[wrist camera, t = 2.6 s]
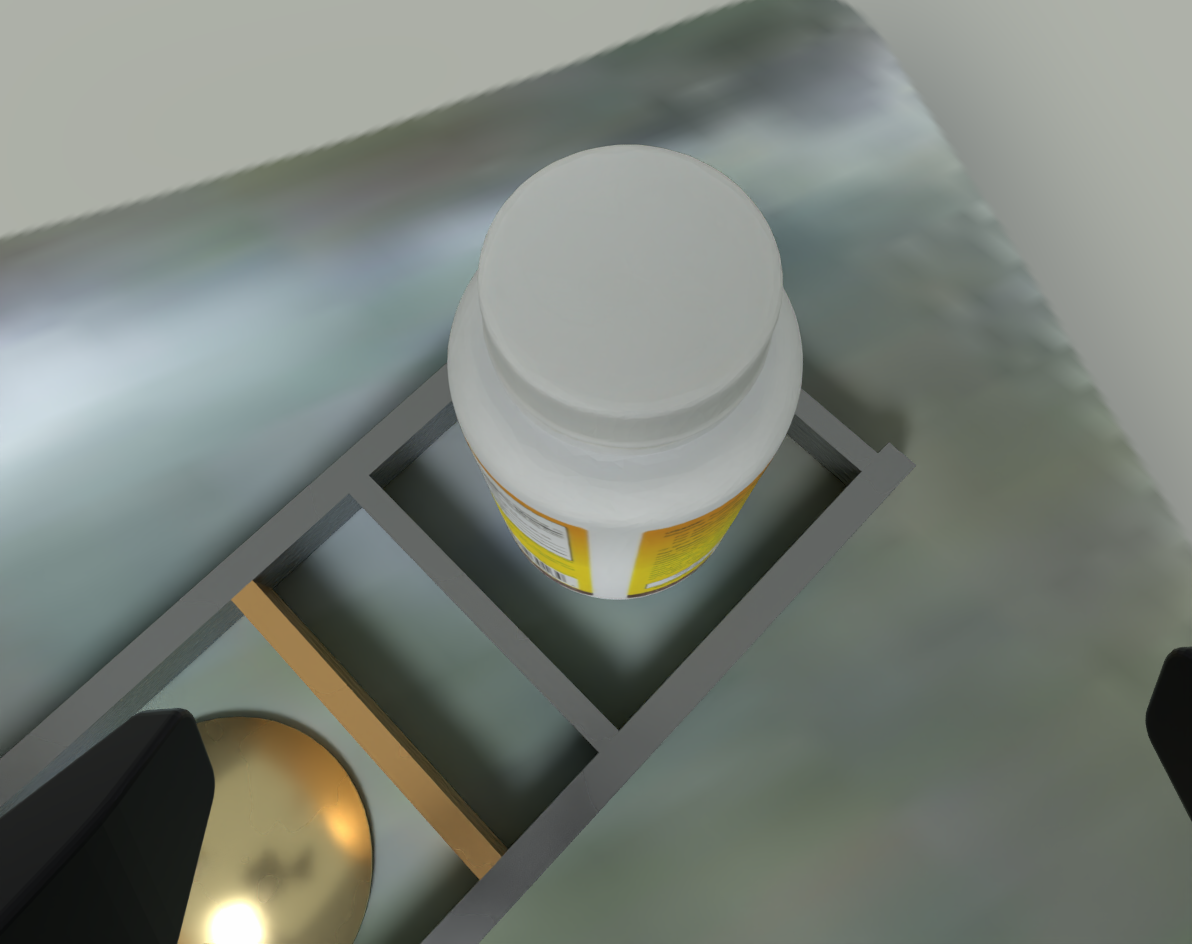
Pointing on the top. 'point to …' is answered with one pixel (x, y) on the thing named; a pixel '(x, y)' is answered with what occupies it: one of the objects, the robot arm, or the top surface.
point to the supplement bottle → (625, 365)
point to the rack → (316, 778)
